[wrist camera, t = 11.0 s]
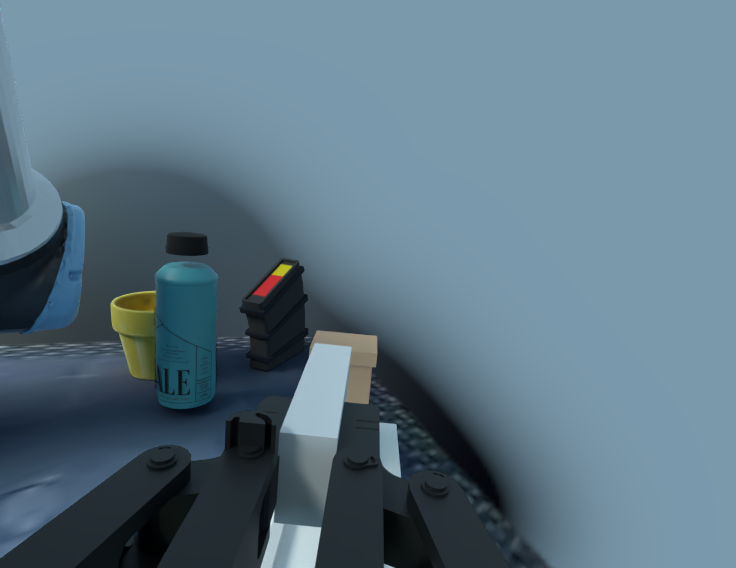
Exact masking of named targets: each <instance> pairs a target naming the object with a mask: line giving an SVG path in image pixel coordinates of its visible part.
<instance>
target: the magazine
mask: <svg viewBox="0 0 736 568" xmlns="http://www.w3.org/2000/svg"><path fill="white" fill-rule="evenodd" d="M303 272H304V267H303V266H299V261H298V260H291V259H284V258H282V259H280V260H279V261H278V262H277V263H276V264H275V265H274V266H273V267H272V268H271V269H270V270H269V271H268V272H267V273H266V275H265V276H264V277H263V278H262V279H261V280H260V281H259V282H258V283H257V284H256V285H255V286H254V287H253V288H252V289H251V290H250V291H249V292H248V293H247V294H246V295H245V296H244V297H243V298H242V302H243V305H242V306H241V307H240V308H239V309H240V312H241V313H246V316H247V319H248V324H249V328H248V329H247V330H246V331H245V335H248V336H250V346H251V351H249V352H248V353H246V358H250V367H252V368H255V369H259V370H263V371H269V370H271V369H272V368H274V367H276V366H277V365H279V364H281V363H282V362H284V361H286V360H287V359H289V358H291V357H292V356H294V355H295V354H297V353H299V352H300V351H302V350H303V349H304V337H306V336H307V335H308V328H305V306H304V304H305V303H306V302H307V301H308V296H307V295H306V294H304V292H303V282H302V276H301V274H302V273H303Z"/></svg>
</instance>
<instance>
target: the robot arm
mask: <svg viewBox="0 0 736 568" xmlns="http://www.w3.org/2000/svg"><path fill="white" fill-rule="evenodd" d="M84 243H85V217H84V212H83V210H82V209H81V208H80V207H78V206H76V205H71V204H69V203H67V202H61V200H60V197H59V194H58V192H57V190H56V189H55V188H54V186H53V185H52V184H51V183H50V182H49V181H48V180H47V179H46V178H45V177H44V176H42V175H41V174H40V173H38V172H37V171H35V170H34V169H32V166H31V162H30V156H29V151H28V146H27V140H26V135H25V130H24V125H23V120H22V115H21V109H20V105H19V99H18V94H17V89H16V83H15V78H14V73H13V68H12V63H11V57H10V53H9V47H8V43H7V37H6V31H5V27H4V21H3V16H2V11H1V6H0V334H1V333H20V334H29V333H32V332H34V331H40V330H49V329H58V328H63V327H65V326H67V325H69V324H70V323H71V322H72V321H73V320H74V319H75V318H76V315H77V313H78V309H79V303H80V296H81V286H82V275H81V274H82V269H83V262H84ZM351 349H352V347H348V346H339V345H329V344H319V343H315V344H314V346H313V349H312V351H311V354H310V356H309V359H308V361H307V364H306V366H305V369H304V372H303V374H302V377H301V379H300V382H299V384H298V387H297V389H296V392H295V394H294V397H293V398H292V397H282V396H272V395H270V396H268V397H267V398H265V399H264V400H262V401H261V402H260V403H259V404H258V406H257V408H256V410H247V411H242V412H238V413H236V414H234V415H231V416H230V417H229V418H228V419H227V420H226V433H225V450H224V451H223V453H222V455H221V456H219V457H216V458H212V459H206V460H197V461H191V454H190V453H189V451H188V450H187V449H185V448H183V447H180V446H174V445H166V446H165V445H164V446H159V447H155V448H152V449H149V450H147V451H145V452H143V453H142V454H140V455H139V456H137V457H136V458H135V459H133V460H132V461H131V462H129V463H128V464H127V465H125V466H124V467H123V468H121V469H120V470H118V471H117V472H116V473H114V474H113V475H112V476H110V477H109V478H108V479H106V480H105V481H104V482H102V483H101V484H100V485H98V486H97V487H96V488H94V489H93V490H92V491H90V492H89V493H88V494H86V495H85V496H84V497H82V498H81V499H80V500H78V501H77V502H76V503H74V504H73V505H72V506H70V507H69V508H68V509H66V510H65V511H64V512H62V513H61V514H59V515H58V516H57V517H55V518H54V519H53V520H51V521H50V522H49V523H47V524H46V525H45V526H43V527H42V528H41V529H39V530H38V531H37V532H35V533H34V534H33V535H31V536H30V537H29V538H27V539H26V540H25V541H23V542H22V543H21V544H19V545H18V546H17V547H15V548H14V549H13V550H11V551H10V552H9V553H7V554H6V555H5V556H3V557H2V558H0V568H261V565H262V561H263V558H264V555H265V551H266V548H267V545H268V541H269V538H270V522H271V519H272V515H273V512H274V523H282V524H291V525H301V526H311V527H321V533H320V539H319V545H318V551H317V557H316V563H315V568H384V564H386V565H389V566H391V567H394V568H510V567H509V565H508V563H507V562H506V560H505V558H504V557H503V555H502V553H501V552H500V550H499V549H498V547H497V545H496V544H495V542H494V540H493V539H492V537H491V536H490V534H489V532H488V531H487V529H486V527H485V526H484V524H483V523H482V521H481V519H480V518H479V516H478V514H477V513H476V511H475V510H474V508H473V506H472V505H471V503H470V501H469V500H468V498H467V497H466V495H465V493H464V492H463V490H462V488H461V487H460V485H459V484H458V483H457V482H456V481H455V480H454V479H453V478H451V477H450V476H448V475H446V474H444V473H441V472H438V471H431V470H424V471H419V472H417V473H415V474H414V475H412V476H411V478H410V480H409V481H408V480H405V479H402V478H400V477H397V476H395V475H393V474H392V473H390V472H389V471H387V470H386V469H385V468H384V467H383V465H382V462H381V459H380V431H379V430H380V425H379V412H378V411H377V409H376V408H375V407H374V405H370V404H361V403H351V402H346V399H347V389H348V379H349V369H350V359H351ZM274 509H275V510H274Z"/></svg>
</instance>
